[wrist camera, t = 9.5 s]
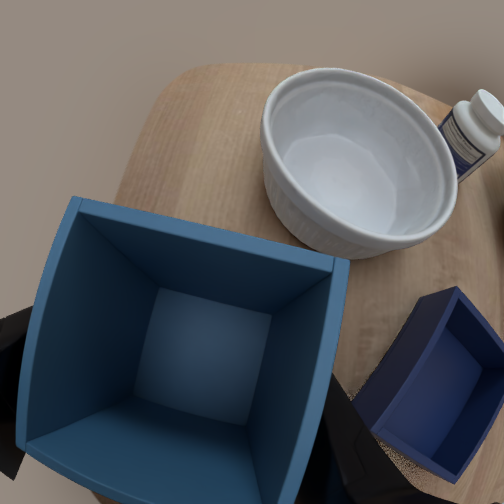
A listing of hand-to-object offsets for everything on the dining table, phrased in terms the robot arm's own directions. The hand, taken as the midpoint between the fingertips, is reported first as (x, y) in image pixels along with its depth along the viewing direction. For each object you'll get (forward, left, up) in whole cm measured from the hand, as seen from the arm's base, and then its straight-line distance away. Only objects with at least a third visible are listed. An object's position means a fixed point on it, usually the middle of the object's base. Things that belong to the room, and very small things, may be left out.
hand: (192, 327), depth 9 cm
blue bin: (-1, 0, -6) cm, 7 cm away
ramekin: (+14, -2, -10) cm, 17 cm away
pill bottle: (+24, -10, -10) cm, 28 cm away
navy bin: (+4, -16, -9) cm, 19 cm away
